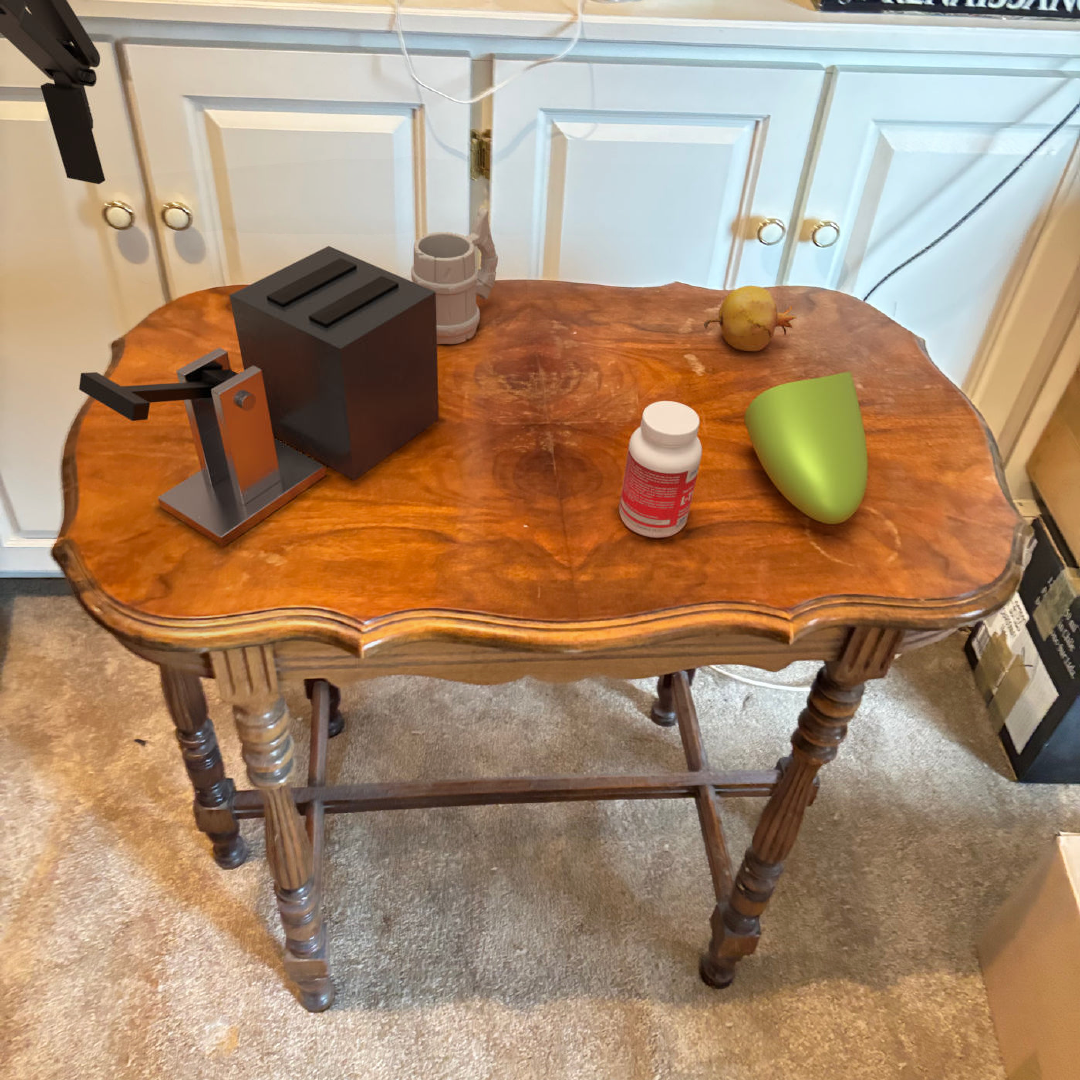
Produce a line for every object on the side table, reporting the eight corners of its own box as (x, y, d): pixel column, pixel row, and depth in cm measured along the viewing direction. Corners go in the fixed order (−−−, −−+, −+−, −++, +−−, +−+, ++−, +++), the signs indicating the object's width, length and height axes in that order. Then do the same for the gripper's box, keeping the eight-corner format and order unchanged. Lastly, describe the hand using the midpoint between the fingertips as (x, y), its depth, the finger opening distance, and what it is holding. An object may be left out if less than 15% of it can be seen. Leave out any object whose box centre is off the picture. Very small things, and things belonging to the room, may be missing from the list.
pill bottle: (684, 545, 82) (707, 445, 74) (615, 534, 82) (630, 434, 74) (688, 499, 86) (709, 400, 78) (621, 489, 86) (637, 390, 79)
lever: (131, 428, 66) (135, 396, 65) (77, 396, 68) (81, 365, 67) (259, 415, 76) (264, 387, 75) (209, 387, 78) (213, 360, 78)
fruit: (713, 315, 99) (807, 318, 99) (707, 269, 102) (798, 272, 103) (701, 360, 105) (790, 362, 105) (696, 315, 108) (782, 317, 108)
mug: (396, 327, 104) (390, 225, 96) (469, 290, 111) (470, 191, 102) (445, 355, 101) (444, 251, 92) (517, 314, 107) (522, 214, 99)
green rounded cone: (751, 330, 90) (794, 477, 77) (865, 354, 92) (926, 499, 79) (719, 392, 96) (755, 538, 82) (828, 413, 98) (879, 558, 85)
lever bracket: (223, 547, 78) (192, 424, 69) (160, 507, 81) (122, 384, 72) (326, 475, 85) (310, 355, 77) (264, 441, 89) (242, 322, 80)
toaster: (354, 480, 85) (339, 344, 75) (254, 425, 90) (228, 290, 80) (438, 419, 92) (435, 287, 82) (342, 371, 97) (328, 241, 87)
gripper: (-248, -118, 41) (-62, 313, 56) (102, -181, 58) (173, 160, 73) (-384, -138, 42) (-167, 289, 57) (-2, -194, 60) (89, 143, 74)
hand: (25, 217), depth 65 cm, fingers open, 13 cm apart
